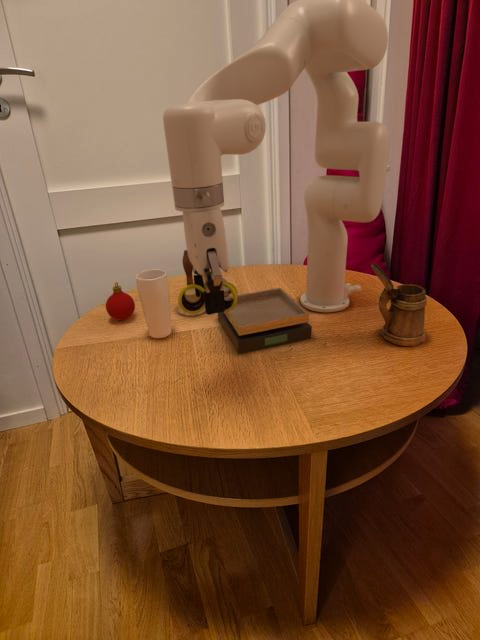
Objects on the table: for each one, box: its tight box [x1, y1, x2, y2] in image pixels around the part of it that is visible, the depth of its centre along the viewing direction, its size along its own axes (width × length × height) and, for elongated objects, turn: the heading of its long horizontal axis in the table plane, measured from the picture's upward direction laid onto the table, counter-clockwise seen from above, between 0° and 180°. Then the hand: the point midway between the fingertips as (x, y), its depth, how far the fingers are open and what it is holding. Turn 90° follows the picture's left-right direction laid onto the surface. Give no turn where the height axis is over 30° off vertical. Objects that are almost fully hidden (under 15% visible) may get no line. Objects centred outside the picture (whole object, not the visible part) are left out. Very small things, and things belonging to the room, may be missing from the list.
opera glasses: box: [177, 282, 239, 314], centre depth 69 cm, size 10×5×5 cm, turn 90°
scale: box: [217, 312, 313, 355], centre depth 95 cm, size 17×17×4 cm
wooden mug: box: [370, 262, 428, 347], centre depth 85 cm, size 9×14×18 cm, turn 99°
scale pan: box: [224, 287, 310, 336], centre depth 94 cm, size 16×16×2 cm
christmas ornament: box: [105, 281, 136, 321], centre depth 102 cm, size 7×7×10 cm
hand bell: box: [177, 249, 206, 317], centre depth 103 cm, size 8×8×16 cm
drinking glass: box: [135, 268, 173, 339], centre depth 93 cm, size 7×7×15 cm
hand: (209, 302), depth 69 cm, fingers closed on opera glasses, 6 cm apart
